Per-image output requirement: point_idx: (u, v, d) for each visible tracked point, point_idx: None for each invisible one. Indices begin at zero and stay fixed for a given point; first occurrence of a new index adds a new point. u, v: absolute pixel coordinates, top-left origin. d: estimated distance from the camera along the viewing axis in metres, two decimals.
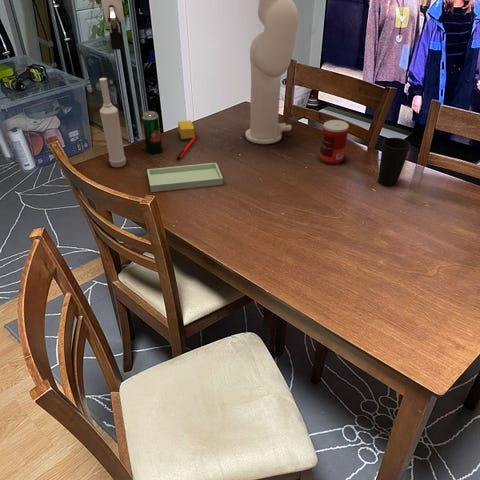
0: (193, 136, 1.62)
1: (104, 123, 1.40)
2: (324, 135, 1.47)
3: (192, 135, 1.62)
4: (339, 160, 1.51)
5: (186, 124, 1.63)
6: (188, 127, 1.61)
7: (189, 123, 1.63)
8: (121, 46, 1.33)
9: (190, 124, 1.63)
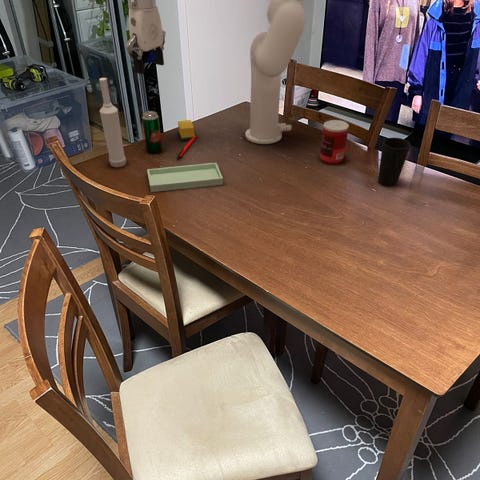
0: (193, 135, 1.62)
1: (104, 123, 1.40)
2: (324, 135, 1.47)
3: (192, 134, 1.62)
4: (339, 160, 1.51)
5: (186, 123, 1.63)
6: (188, 126, 1.61)
7: (189, 123, 1.63)
8: (141, 71, 1.41)
9: (190, 123, 1.63)
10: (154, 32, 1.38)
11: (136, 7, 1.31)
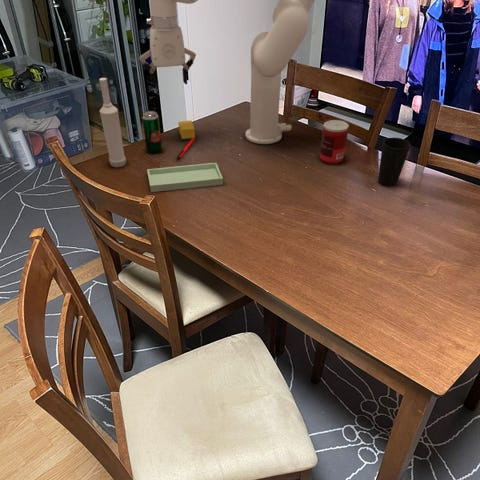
0: (193, 136, 1.62)
1: (104, 123, 1.40)
2: (324, 135, 1.47)
3: (192, 135, 1.62)
4: (339, 160, 1.51)
5: (187, 124, 1.63)
6: (188, 127, 1.61)
7: (189, 123, 1.63)
8: (154, 84, 1.49)
9: (190, 124, 1.63)
10: (170, 51, 1.43)
11: (152, 25, 1.39)
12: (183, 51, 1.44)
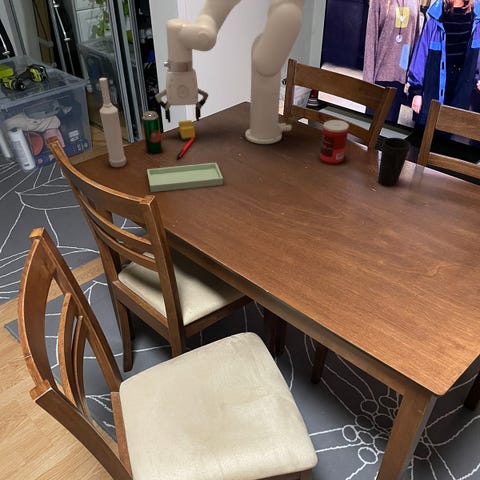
0: (194, 135, 1.62)
1: (104, 123, 1.40)
2: (324, 135, 1.47)
3: (193, 134, 1.62)
4: (339, 160, 1.51)
5: (186, 123, 1.63)
6: (188, 126, 1.61)
7: (189, 123, 1.63)
8: (168, 120, 1.59)
9: (190, 123, 1.63)
10: (185, 92, 1.53)
11: (169, 68, 1.49)
12: (196, 92, 1.54)
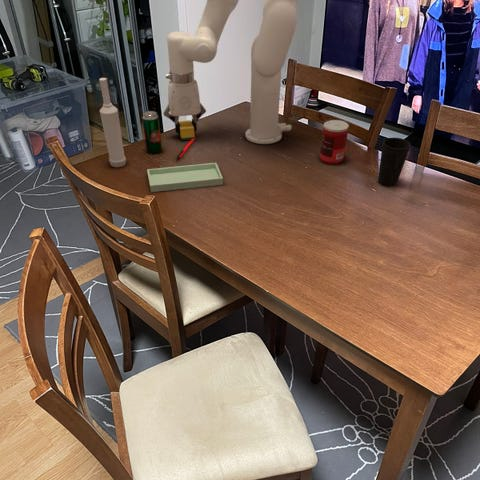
0: (193, 135, 1.62)
1: (104, 123, 1.40)
2: (324, 135, 1.47)
3: (192, 134, 1.62)
4: (339, 160, 1.51)
5: (186, 123, 1.63)
6: (188, 126, 1.61)
7: (189, 123, 1.63)
8: (178, 133, 1.63)
9: (190, 124, 1.63)
10: (187, 103, 1.55)
11: (171, 80, 1.51)
12: (198, 102, 1.56)
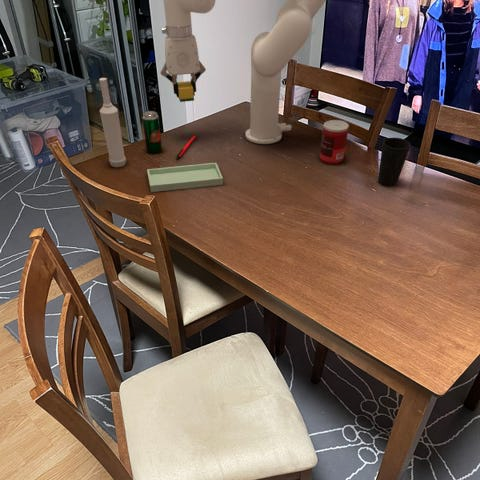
0: (192, 96, 1.53)
1: (104, 123, 1.40)
2: (324, 135, 1.47)
3: (191, 95, 1.53)
4: (339, 160, 1.51)
5: (185, 84, 1.54)
6: (187, 86, 1.52)
7: (188, 83, 1.54)
8: (176, 94, 1.54)
9: (189, 84, 1.54)
10: (185, 60, 1.46)
11: (167, 34, 1.42)
12: (197, 59, 1.47)
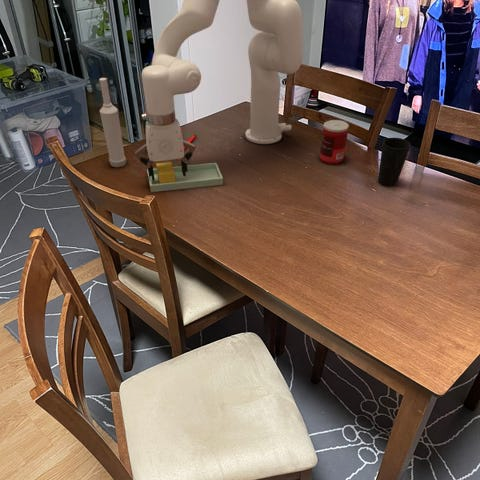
0: (173, 181, 1.38)
1: (104, 123, 1.40)
2: (324, 135, 1.47)
3: (172, 180, 1.38)
4: (339, 160, 1.51)
5: (165, 167, 1.39)
6: (167, 171, 1.37)
7: (169, 166, 1.39)
8: None
9: (170, 167, 1.39)
10: (168, 146, 1.32)
11: (148, 121, 1.28)
12: (181, 145, 1.33)
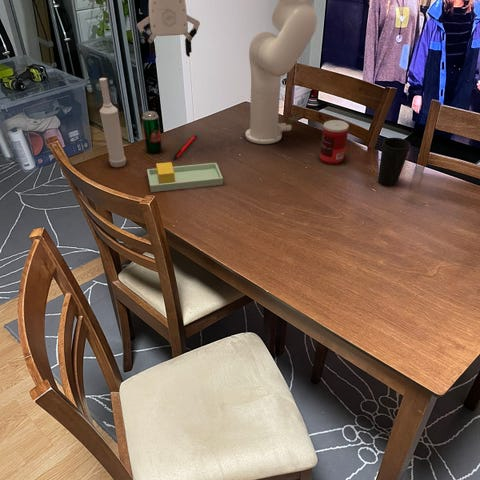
0: (173, 181, 1.38)
1: (104, 123, 1.40)
2: (324, 135, 1.47)
3: (172, 180, 1.38)
4: (339, 160, 1.51)
5: (165, 167, 1.39)
6: (167, 171, 1.37)
7: (169, 166, 1.39)
8: (153, 55, 1.35)
9: (170, 167, 1.39)
10: (171, 18, 1.29)
11: None
12: (185, 18, 1.30)
